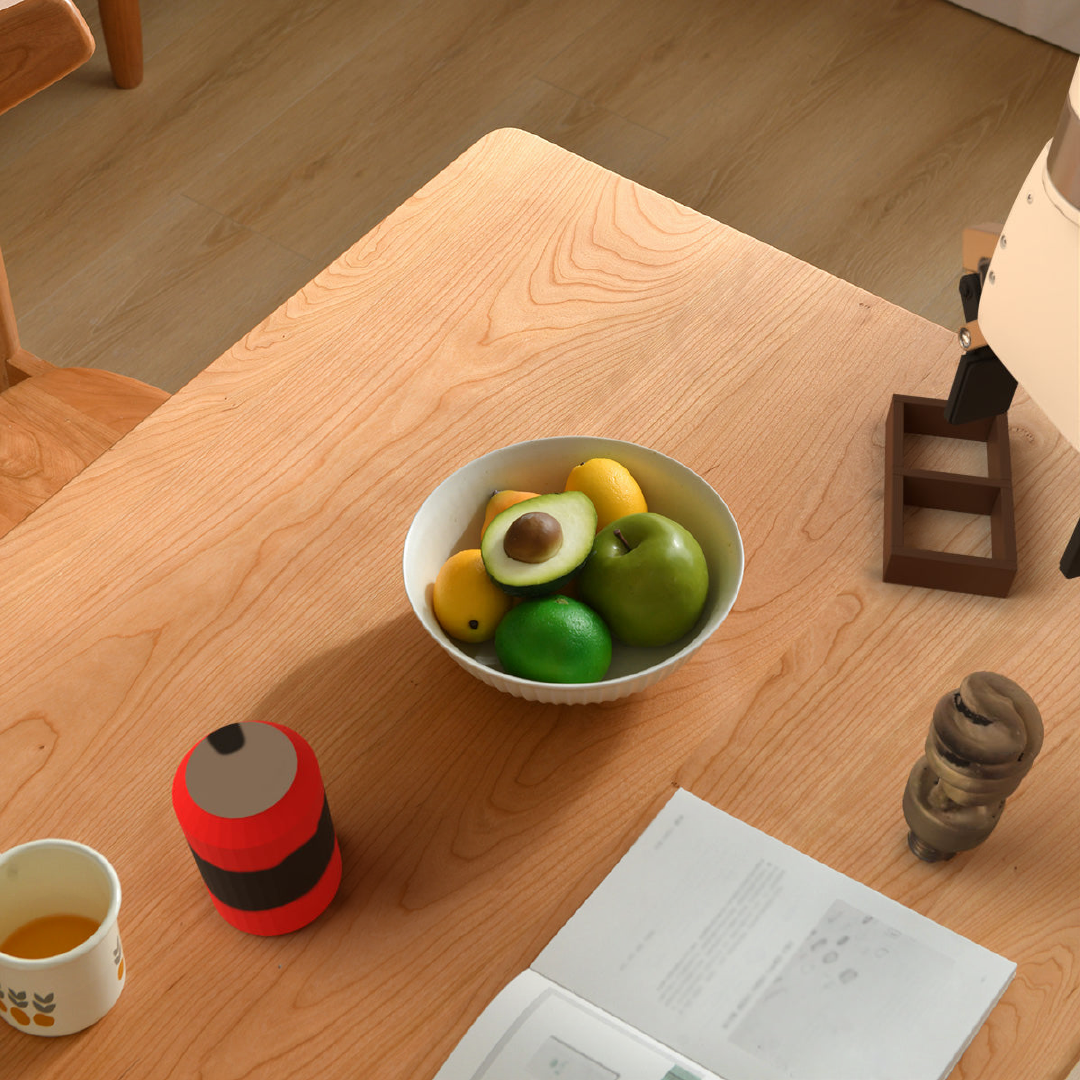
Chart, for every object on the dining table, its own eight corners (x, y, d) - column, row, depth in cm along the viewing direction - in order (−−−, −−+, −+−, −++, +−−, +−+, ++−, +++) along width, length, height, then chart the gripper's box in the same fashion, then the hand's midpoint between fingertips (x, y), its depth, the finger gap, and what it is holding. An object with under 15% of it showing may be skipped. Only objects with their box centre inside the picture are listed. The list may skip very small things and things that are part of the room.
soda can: (309, 796, 81) (279, 683, 72) (365, 897, 77) (341, 791, 68) (190, 856, 79) (144, 746, 70) (241, 963, 75) (199, 862, 65)
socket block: (1006, 598, 91) (1018, 570, 89) (882, 582, 92) (890, 554, 90) (996, 435, 101) (1007, 406, 99) (885, 422, 102) (893, 393, 100)
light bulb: (910, 789, 82) (970, 641, 70) (995, 836, 80) (1071, 692, 68) (867, 858, 79) (923, 717, 67) (955, 910, 77) (1028, 773, 65)
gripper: (1426, 283, 43) (1222, 611, 56) (1112, 21, 54) (1002, 348, 67) (1226, 332, 42) (1065, 658, 55) (945, 53, 52) (865, 381, 65)
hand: (1030, 487), depth 61 cm, fingers open, 9 cm apart
